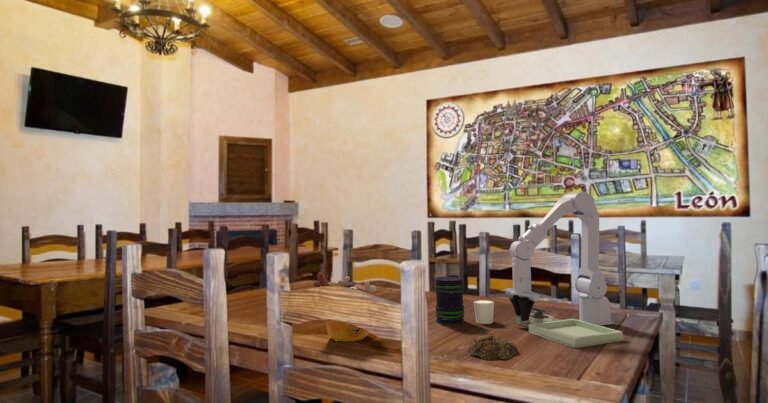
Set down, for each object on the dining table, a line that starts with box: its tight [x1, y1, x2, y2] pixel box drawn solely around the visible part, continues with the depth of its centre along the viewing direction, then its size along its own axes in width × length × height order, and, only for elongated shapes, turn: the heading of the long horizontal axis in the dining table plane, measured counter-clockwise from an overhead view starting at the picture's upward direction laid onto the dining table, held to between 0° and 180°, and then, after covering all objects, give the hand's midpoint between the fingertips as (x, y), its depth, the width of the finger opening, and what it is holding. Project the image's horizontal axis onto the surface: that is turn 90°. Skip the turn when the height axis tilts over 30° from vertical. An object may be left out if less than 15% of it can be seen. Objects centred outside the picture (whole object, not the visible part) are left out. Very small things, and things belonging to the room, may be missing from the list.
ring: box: [515, 312, 554, 325], centre depth 156 cm, size 13×9×2 cm
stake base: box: [519, 306, 561, 328], centre depth 157 cm, size 13×11×6 cm
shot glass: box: [473, 299, 495, 325], centre depth 163 cm, size 7×7×7 cm
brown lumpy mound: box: [467, 334, 519, 361], centre depth 127 cm, size 13×12×5 cm
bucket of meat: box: [313, 272, 377, 343], centre depth 146 cm, size 20×16×20 cm
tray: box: [528, 318, 624, 349], centre depth 142 cm, size 18×19×2 cm
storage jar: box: [434, 275, 465, 326], centre depth 164 cm, size 10×10×15 cm
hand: (522, 319), depth 154 cm, fingers closed on ring, 2 cm apart
